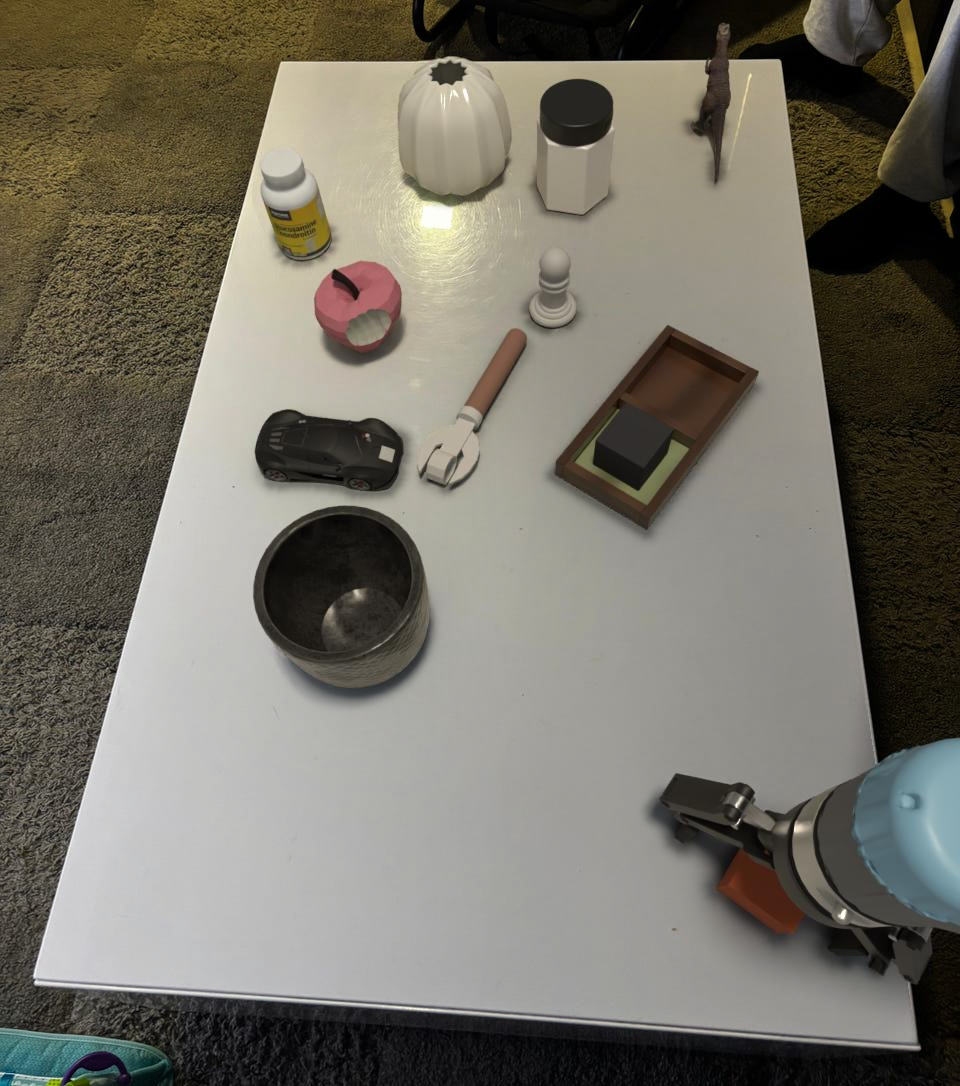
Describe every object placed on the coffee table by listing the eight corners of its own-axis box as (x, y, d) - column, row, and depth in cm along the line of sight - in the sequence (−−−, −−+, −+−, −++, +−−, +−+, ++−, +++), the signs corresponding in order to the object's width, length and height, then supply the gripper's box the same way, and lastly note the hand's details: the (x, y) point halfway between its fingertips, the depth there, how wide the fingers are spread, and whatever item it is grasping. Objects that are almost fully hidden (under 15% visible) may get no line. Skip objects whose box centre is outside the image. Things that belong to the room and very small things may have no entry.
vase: (445, 227, 100) (433, 129, 88) (383, 166, 105) (363, 66, 93) (534, 175, 103) (534, 74, 91) (469, 119, 108) (461, 16, 96)
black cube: (667, 453, 83) (674, 428, 79) (638, 491, 82) (643, 468, 77) (621, 427, 85) (626, 401, 81) (592, 464, 83) (595, 440, 79)
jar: (615, 208, 100) (625, 119, 89) (550, 223, 99) (553, 136, 88) (592, 159, 104) (599, 68, 93) (530, 173, 103) (530, 84, 92)
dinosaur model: (733, 13, 96) (757, 105, 90) (717, 101, 106) (738, 188, 101) (698, 18, 96) (720, 110, 90) (686, 105, 107) (705, 192, 101)
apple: (336, 379, 91) (315, 318, 82) (318, 322, 95) (296, 257, 86) (419, 354, 92) (406, 291, 83) (398, 299, 95) (384, 232, 86)
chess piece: (585, 315, 93) (590, 255, 85) (546, 336, 92) (547, 278, 84) (558, 286, 95) (561, 225, 87) (520, 306, 94) (518, 246, 86)
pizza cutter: (494, 336, 93) (494, 317, 90) (543, 352, 92) (544, 333, 89) (410, 475, 85) (406, 459, 82) (462, 496, 83) (460, 480, 81)
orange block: (811, 873, 66) (829, 869, 62) (777, 933, 65) (794, 933, 60) (750, 830, 68) (763, 823, 64) (716, 888, 66) (727, 884, 62)
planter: (458, 585, 79) (445, 524, 67) (412, 724, 73) (389, 683, 62) (325, 551, 82) (290, 487, 70) (271, 683, 76) (223, 637, 64)
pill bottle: (271, 257, 100) (241, 177, 89) (292, 219, 102) (265, 137, 92) (321, 266, 98) (295, 186, 88) (340, 228, 101) (318, 146, 90)
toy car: (394, 494, 84) (387, 472, 80) (254, 479, 86) (241, 457, 82) (408, 433, 87) (402, 410, 83) (273, 420, 89) (261, 396, 85)
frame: (753, 386, 87) (759, 371, 85) (647, 530, 81) (650, 517, 78) (664, 340, 91) (667, 324, 88) (554, 474, 84) (555, 461, 82)
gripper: (634, 776, 50) (604, 821, 69) (1049, 1074, 42) (886, 1031, 61) (699, 679, 52) (653, 748, 71) (1102, 944, 44) (929, 942, 64)
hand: (760, 879), depth 66 cm, fingers open, 13 cm apart
